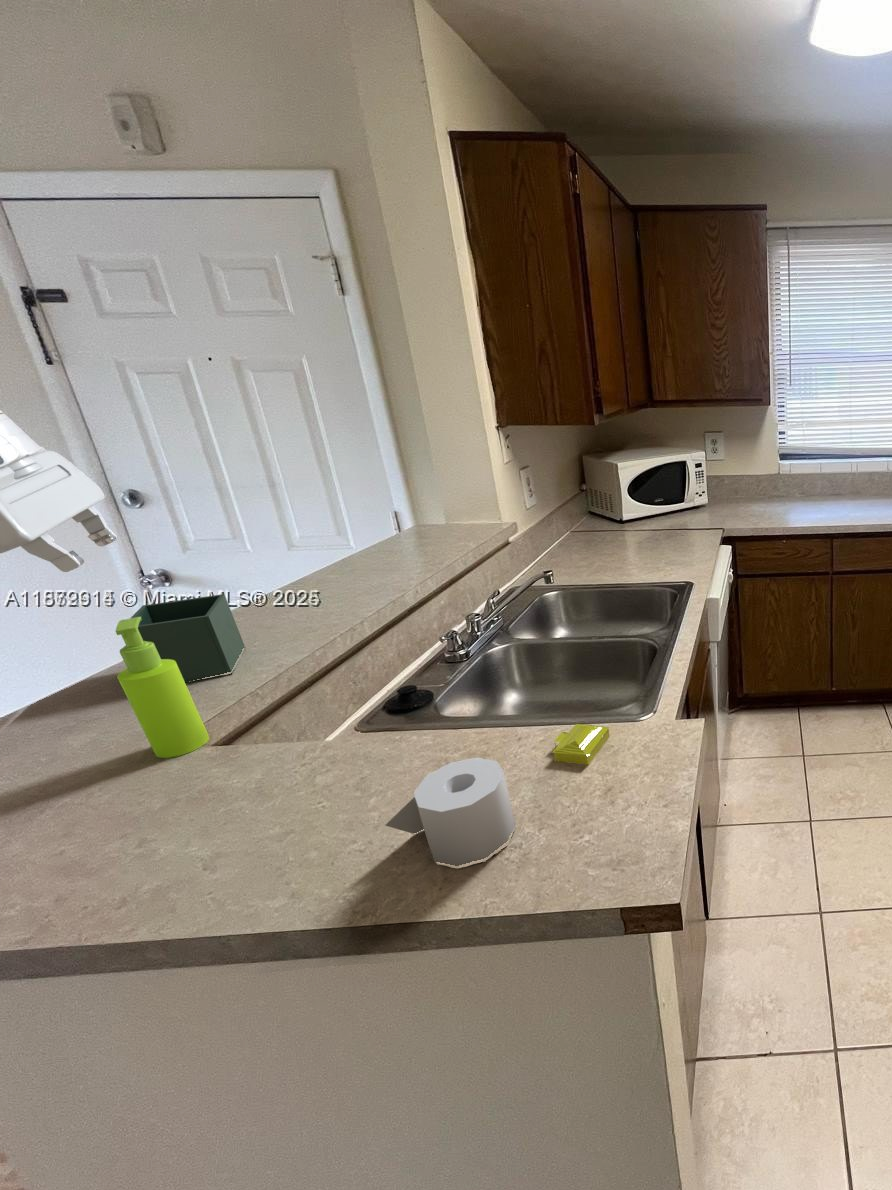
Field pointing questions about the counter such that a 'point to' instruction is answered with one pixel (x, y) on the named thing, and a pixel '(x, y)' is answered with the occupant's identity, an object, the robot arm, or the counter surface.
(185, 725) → the soap dispenser
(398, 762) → the counter surface
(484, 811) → the toilet tissue
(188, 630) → the trash bin
